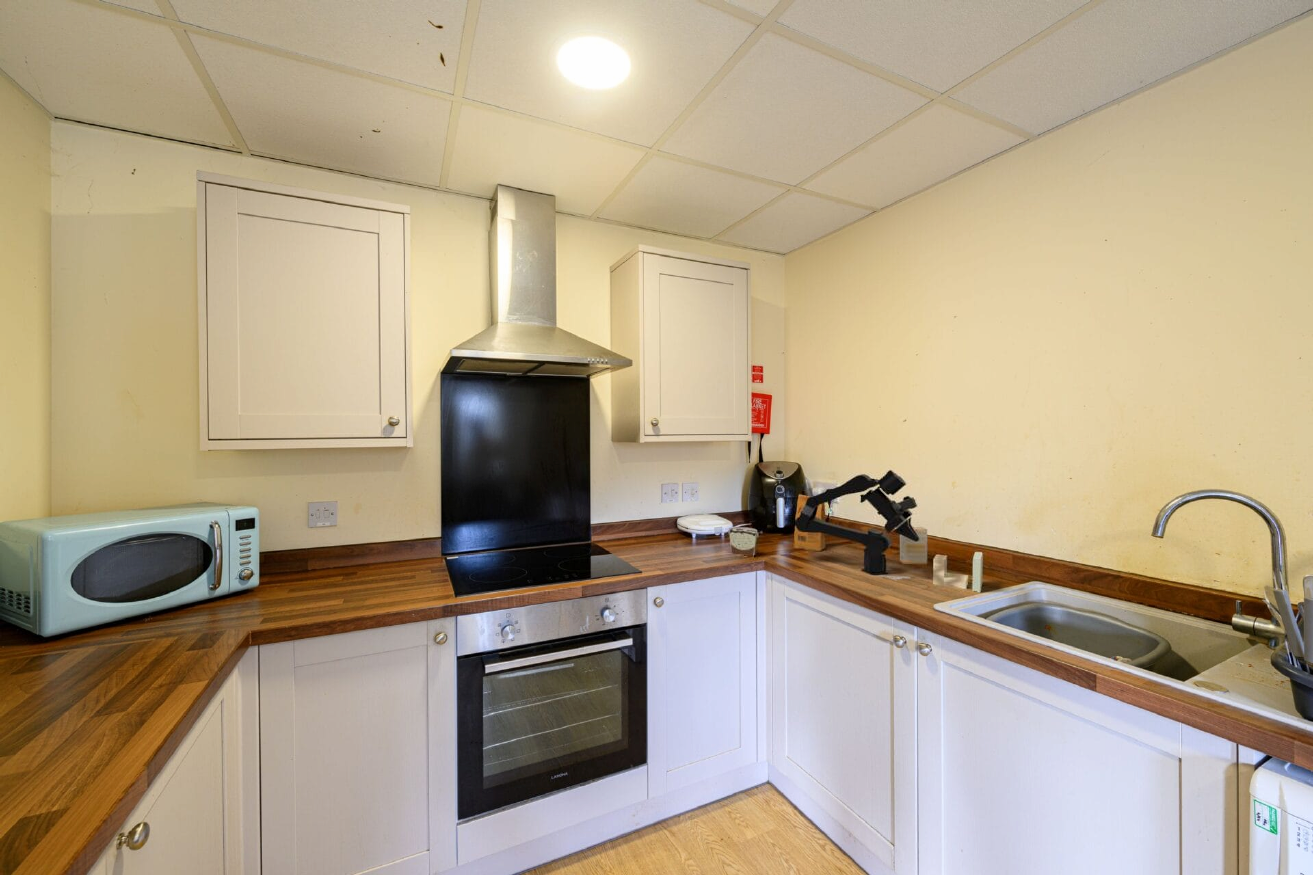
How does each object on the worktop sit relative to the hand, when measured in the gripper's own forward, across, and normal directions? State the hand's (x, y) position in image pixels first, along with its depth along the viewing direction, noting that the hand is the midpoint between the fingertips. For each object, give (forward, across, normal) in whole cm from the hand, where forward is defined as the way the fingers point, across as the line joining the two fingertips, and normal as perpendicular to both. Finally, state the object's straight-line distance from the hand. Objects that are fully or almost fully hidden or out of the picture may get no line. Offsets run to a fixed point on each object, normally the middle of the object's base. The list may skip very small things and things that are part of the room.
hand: (918, 540), depth 173 cm
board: (+21, 0, -3) cm, 21 cm away
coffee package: (-22, +23, +40) cm, 51 cm away
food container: (-34, -2, +52) cm, 62 cm away
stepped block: (+16, 0, +2) cm, 16 cm away
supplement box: (+6, +22, +12) cm, 26 cm away
